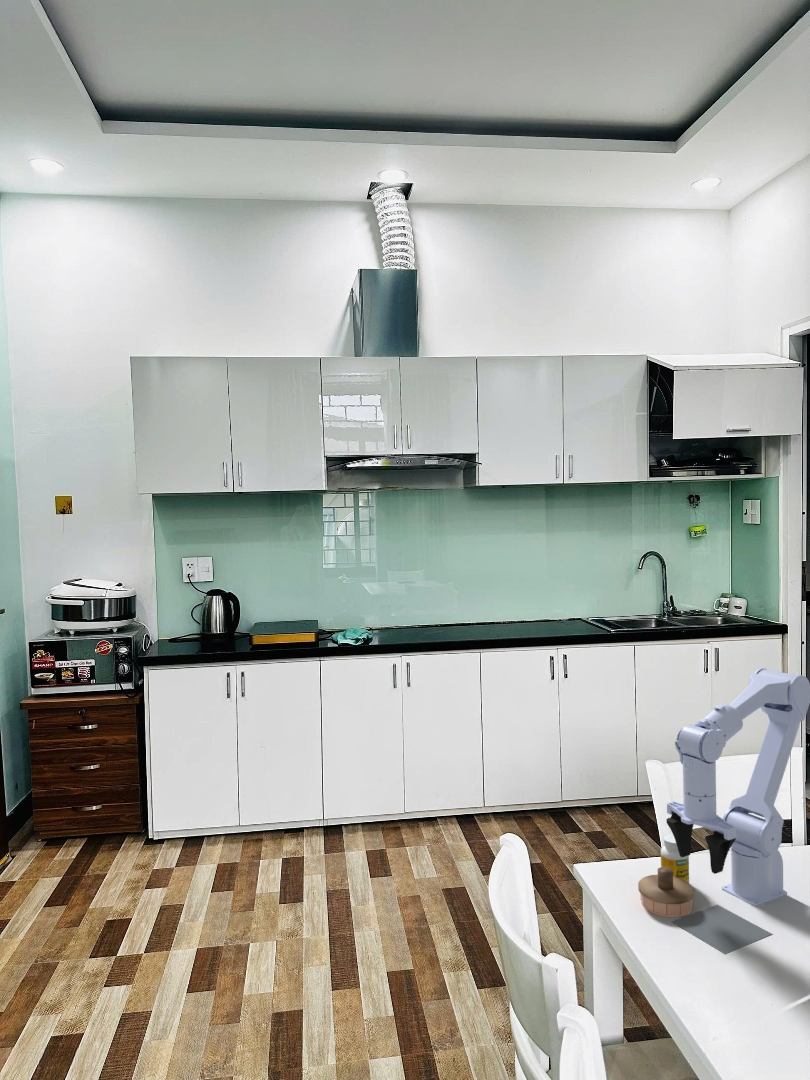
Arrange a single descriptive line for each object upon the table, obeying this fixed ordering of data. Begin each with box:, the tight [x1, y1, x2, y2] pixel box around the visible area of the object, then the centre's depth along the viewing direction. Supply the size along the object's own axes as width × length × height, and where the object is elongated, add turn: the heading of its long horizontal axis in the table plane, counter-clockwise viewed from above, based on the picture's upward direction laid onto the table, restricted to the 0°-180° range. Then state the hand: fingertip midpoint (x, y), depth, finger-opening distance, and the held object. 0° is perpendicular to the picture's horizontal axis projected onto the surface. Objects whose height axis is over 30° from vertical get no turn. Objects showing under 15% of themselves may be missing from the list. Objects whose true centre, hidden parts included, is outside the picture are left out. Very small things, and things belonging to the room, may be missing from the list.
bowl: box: [639, 892, 694, 918], centre depth 151 cm, size 9×9×3 cm
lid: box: [637, 866, 695, 904], centre depth 151 cm, size 10×10×4 cm
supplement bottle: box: [660, 834, 690, 884], centre depth 159 cm, size 5×5×10 cm
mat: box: [671, 904, 773, 955], centre depth 142 cm, size 12×12×1 cm
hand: (700, 863), depth 147 cm, fingers open, 7 cm apart
